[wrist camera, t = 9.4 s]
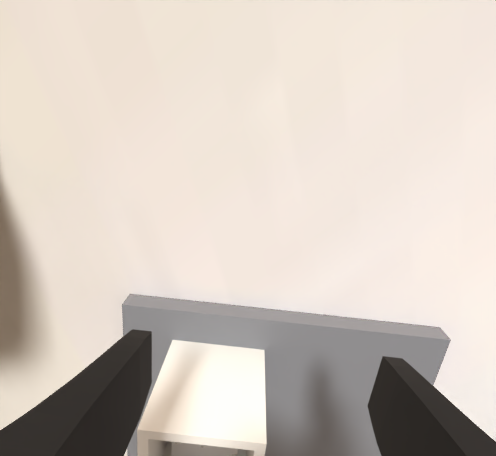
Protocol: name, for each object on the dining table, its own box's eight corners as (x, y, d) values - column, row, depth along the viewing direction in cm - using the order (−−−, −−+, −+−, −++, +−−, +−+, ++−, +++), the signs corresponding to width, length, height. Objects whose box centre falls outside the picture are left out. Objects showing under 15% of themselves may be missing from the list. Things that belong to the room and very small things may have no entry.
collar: (264, 349, 19) (266, 443, 14) (253, 417, 21) (252, 525, 16) (172, 339, 19) (136, 429, 14) (170, 408, 21) (138, 512, 16)
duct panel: (439, 327, 20) (450, 339, 19) (379, 491, 25) (385, 509, 24) (130, 293, 20) (122, 304, 19) (134, 465, 25) (128, 481, 24)
